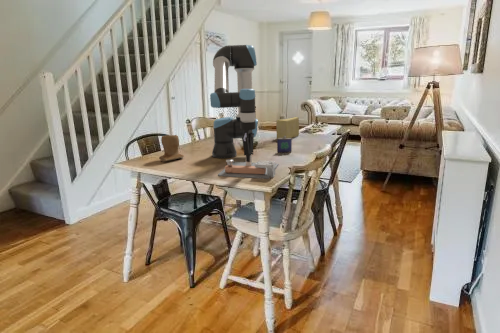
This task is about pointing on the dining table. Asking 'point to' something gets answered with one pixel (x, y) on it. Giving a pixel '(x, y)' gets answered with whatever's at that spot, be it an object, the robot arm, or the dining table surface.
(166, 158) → the brown boot
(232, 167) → the link
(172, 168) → the dining table surface
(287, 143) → the dark blue box
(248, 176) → the base board
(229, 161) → the silver metal knob
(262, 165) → the block
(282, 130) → the cheese
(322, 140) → the dining table surface
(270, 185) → the dining table surface
